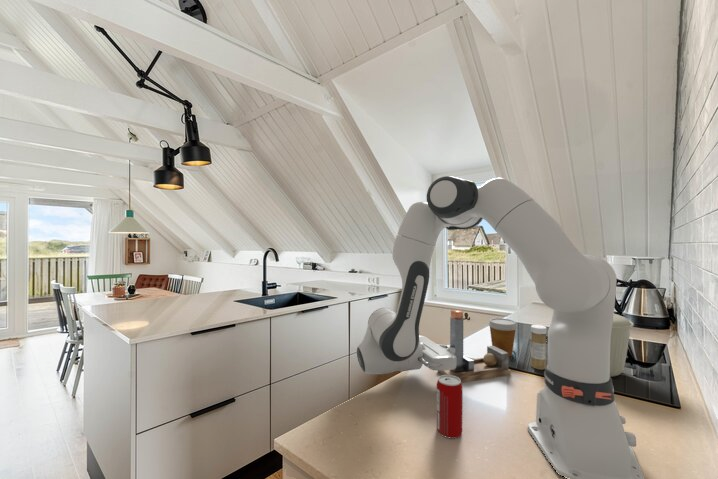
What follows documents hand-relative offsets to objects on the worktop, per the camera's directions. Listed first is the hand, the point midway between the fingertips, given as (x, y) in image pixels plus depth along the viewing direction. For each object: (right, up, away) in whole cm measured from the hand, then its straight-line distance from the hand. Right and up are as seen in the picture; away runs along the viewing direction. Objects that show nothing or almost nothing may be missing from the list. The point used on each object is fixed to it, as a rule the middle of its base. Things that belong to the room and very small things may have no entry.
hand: (452, 349), depth 101 cm
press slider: (+2, -7, +1) cm, 7 cm away
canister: (+47, -8, +4) cm, 48 cm away
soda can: (-9, -9, -28) cm, 31 cm away
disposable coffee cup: (+23, -8, +18) cm, 31 cm away
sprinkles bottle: (+30, -8, +7) cm, 32 cm away
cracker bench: (+7, -8, +2) cm, 11 cm away
